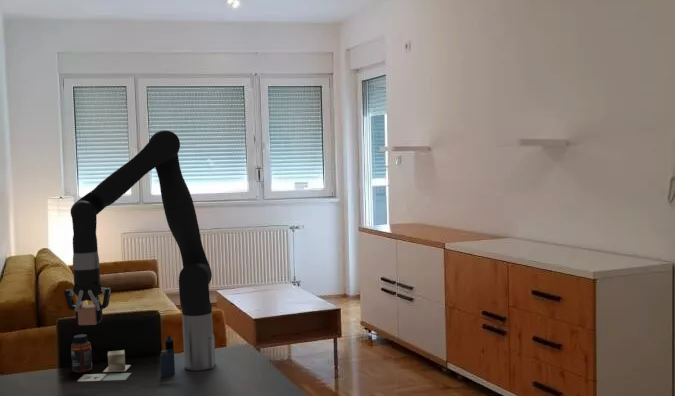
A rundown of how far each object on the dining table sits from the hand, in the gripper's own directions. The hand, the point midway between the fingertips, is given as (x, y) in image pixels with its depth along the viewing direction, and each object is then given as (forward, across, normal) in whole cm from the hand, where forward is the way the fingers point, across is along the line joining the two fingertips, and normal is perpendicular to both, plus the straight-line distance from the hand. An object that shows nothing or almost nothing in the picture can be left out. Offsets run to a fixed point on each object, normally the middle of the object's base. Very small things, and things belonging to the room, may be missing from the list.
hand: (89, 322), depth 231 cm
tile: (+17, -5, -9) cm, 20 cm away
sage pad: (+17, -7, 0) cm, 19 cm away
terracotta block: (0, 0, 0) cm, 0 cm away
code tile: (+17, 0, 0) cm, 17 cm away
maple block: (+17, -5, -9) cm, 20 cm away
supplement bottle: (+18, +6, -9) cm, 21 cm away
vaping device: (+18, -23, 0) cm, 29 cm away
